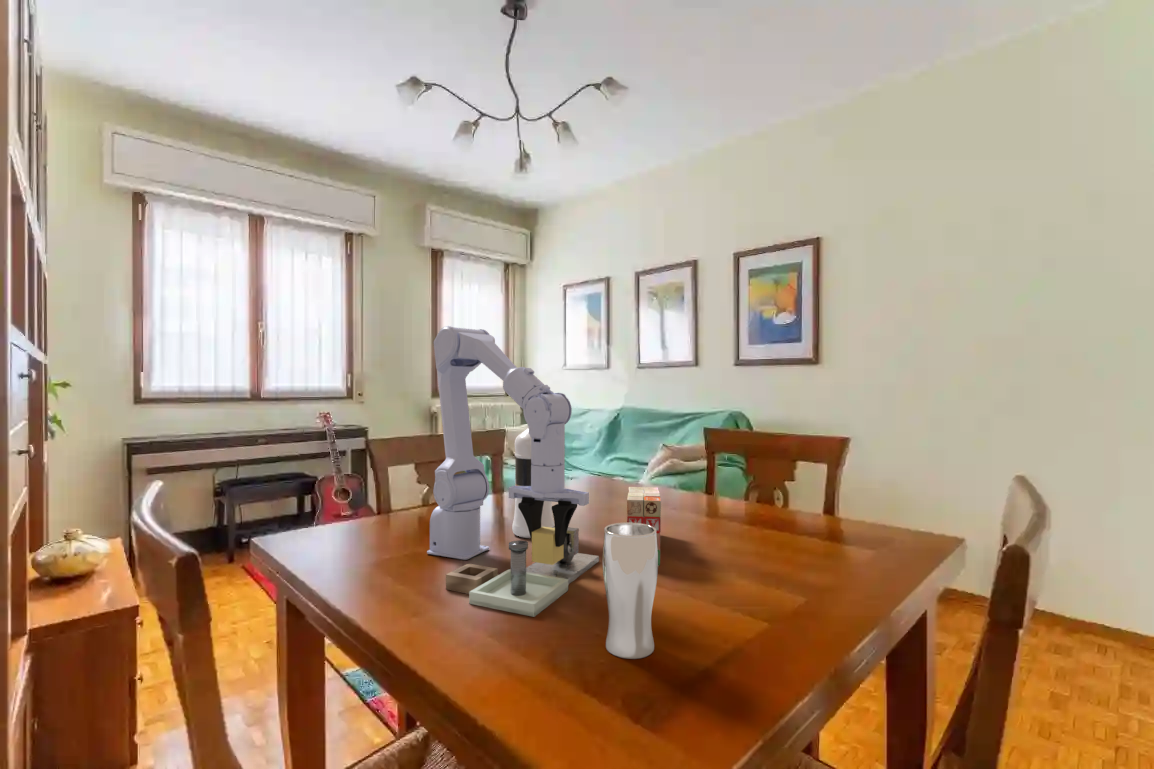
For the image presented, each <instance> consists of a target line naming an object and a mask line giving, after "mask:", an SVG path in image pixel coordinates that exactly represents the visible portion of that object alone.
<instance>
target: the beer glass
mask: <svg viewBox="0 0 1154 769" xmlns="http://www.w3.org/2000/svg"><path fill="white" fill-rule="evenodd" d="M603 530H604V536H603V544H602V546H603V547H602V576H603V583H604V584H603V585H604V590H605V596H606V602H607V610H608V629H607V634H606V639H605V648H606V650H607V652H608V653H610V654H612V655H613V656H614V657H618V658H621V659H628V660H629V659H630V660H637V659H643V658H646V657H648V656H650V655H651V654H652V653H654V652H655V651H654V650H655V642H654V637H653V636H654V635H653V631H652V630H653V629H652V611H653V606H654V599H655V595H656V590H657V581H658V574H659V573H658V572H659V566H658V549H657V537H656V529H655V528H654V527H653V526H650V525H647V524H641V523H629V522H627V521H626V522H616V523H610V524H608V525H606V526H605V527H604V529H603Z"/></svg>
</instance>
